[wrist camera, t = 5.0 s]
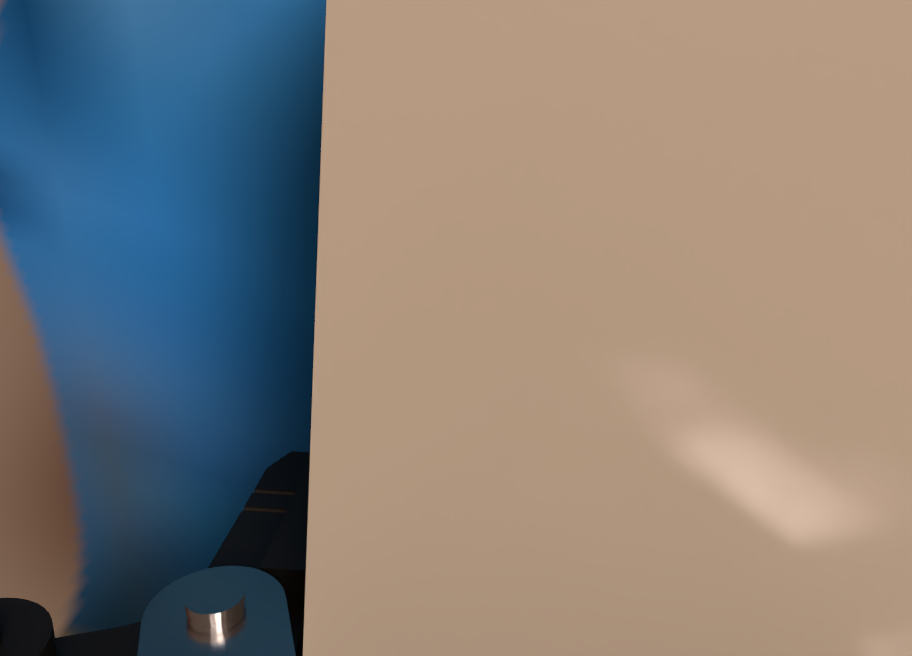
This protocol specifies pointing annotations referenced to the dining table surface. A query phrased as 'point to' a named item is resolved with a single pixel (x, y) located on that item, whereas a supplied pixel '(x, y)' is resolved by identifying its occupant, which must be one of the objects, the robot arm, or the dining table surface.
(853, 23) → the beige long block
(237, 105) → the dining table surface
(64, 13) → the dining table surface
